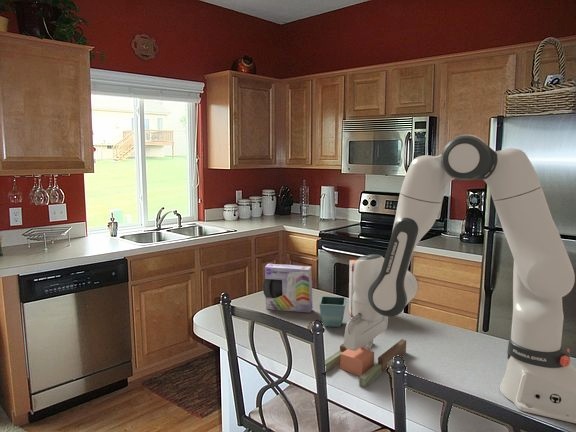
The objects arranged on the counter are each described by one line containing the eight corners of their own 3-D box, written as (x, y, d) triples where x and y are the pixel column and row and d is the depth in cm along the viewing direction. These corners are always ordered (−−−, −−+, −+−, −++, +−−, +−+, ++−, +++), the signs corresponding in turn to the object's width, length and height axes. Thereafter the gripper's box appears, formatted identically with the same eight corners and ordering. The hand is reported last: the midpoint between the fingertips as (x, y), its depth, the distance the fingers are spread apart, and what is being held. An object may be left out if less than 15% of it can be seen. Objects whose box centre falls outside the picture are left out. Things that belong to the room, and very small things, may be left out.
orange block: (373, 366, 129) (374, 352, 128) (361, 376, 124) (362, 360, 123) (352, 359, 133) (353, 345, 133) (340, 368, 128) (340, 353, 127)
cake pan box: (262, 309, 176) (262, 265, 173) (266, 304, 181) (266, 262, 178) (309, 314, 170) (310, 269, 168) (312, 309, 175) (313, 266, 172)
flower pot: (318, 328, 157) (319, 303, 156) (321, 319, 165) (321, 295, 164) (344, 330, 155) (344, 305, 154) (345, 320, 164) (345, 297, 163)
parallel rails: (405, 352, 138) (406, 340, 138) (364, 387, 118) (364, 373, 117) (365, 340, 147) (365, 329, 146) (320, 371, 126) (320, 358, 126)
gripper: (358, 322, 120) (357, 370, 122) (392, 302, 136) (390, 345, 138) (339, 316, 124) (337, 363, 126) (374, 298, 140) (372, 340, 142)
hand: (365, 353), depth 132 cm, fingers closed
